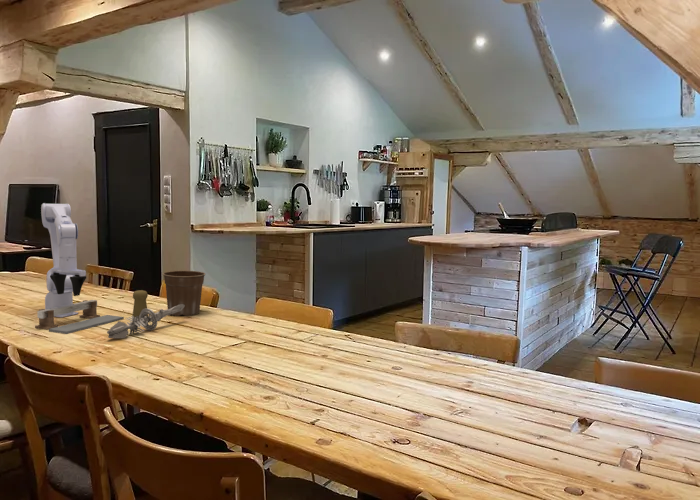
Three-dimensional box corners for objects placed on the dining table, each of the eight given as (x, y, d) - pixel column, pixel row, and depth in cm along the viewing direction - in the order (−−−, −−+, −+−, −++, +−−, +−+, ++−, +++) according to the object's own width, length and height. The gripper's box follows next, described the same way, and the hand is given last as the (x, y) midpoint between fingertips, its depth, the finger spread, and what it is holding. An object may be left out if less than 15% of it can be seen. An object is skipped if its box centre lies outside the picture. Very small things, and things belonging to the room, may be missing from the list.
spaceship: (194, 301, 207) (178, 292, 210) (118, 330, 176) (101, 318, 179) (189, 319, 210) (173, 310, 212) (114, 351, 179) (96, 339, 181)
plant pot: (213, 311, 228) (213, 272, 226) (186, 319, 213) (186, 277, 212) (182, 307, 235) (182, 269, 233) (153, 314, 220) (153, 273, 219)
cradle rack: (35, 327, 194) (34, 310, 193) (87, 315, 215) (87, 299, 214) (48, 329, 191) (47, 311, 191) (100, 317, 213) (99, 300, 212)
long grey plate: (48, 331, 189) (48, 329, 189) (107, 316, 214) (107, 314, 214) (66, 333, 187) (66, 331, 186) (123, 319, 211) (123, 316, 211)
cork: (151, 318, 213) (151, 289, 212) (144, 321, 207) (144, 292, 206) (136, 317, 214) (136, 289, 213) (128, 320, 208) (128, 291, 207)
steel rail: (37, 317, 192) (37, 311, 192) (92, 306, 214) (92, 299, 214) (42, 318, 191) (42, 311, 191) (97, 306, 214) (97, 300, 213)
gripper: (43, 257, 200) (44, 294, 201) (74, 259, 195) (75, 298, 196) (59, 255, 206) (60, 291, 208) (90, 257, 201) (90, 295, 203)
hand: (68, 294), depth 202 cm, fingers open, 7 cm apart
